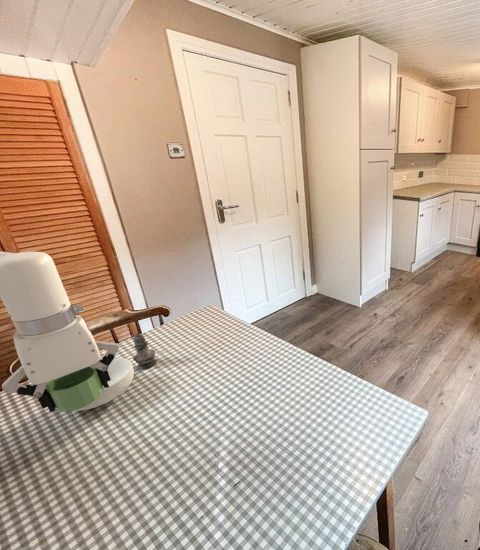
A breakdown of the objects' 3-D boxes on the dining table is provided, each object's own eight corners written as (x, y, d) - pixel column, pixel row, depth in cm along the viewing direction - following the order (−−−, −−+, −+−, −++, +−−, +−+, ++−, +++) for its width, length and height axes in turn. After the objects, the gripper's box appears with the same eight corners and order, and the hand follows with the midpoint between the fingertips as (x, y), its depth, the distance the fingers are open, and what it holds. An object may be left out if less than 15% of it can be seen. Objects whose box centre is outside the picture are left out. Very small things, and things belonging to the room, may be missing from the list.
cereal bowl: (119, 369, 95) (112, 351, 92) (151, 386, 88) (144, 366, 86) (48, 407, 81) (37, 386, 78) (80, 430, 74) (69, 409, 72)
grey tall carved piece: (141, 372, 94) (130, 339, 89) (132, 366, 97) (121, 334, 92) (161, 362, 99) (152, 330, 94) (152, 356, 101) (142, 325, 97)
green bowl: (47, 418, 57) (36, 395, 55) (68, 391, 64) (58, 370, 62) (95, 407, 59) (86, 385, 57) (110, 383, 66) (102, 362, 64)
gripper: (102, 298, 63) (126, 366, 70) (-29, 332, 51) (15, 412, 57) (111, 309, 59) (136, 381, 65) (-30, 350, 46) (18, 434, 53)
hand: (79, 395), depth 61 cm, fingers closed on green bowl, 7 cm apart
